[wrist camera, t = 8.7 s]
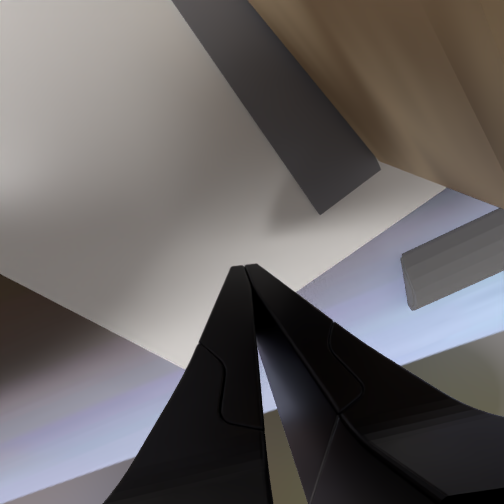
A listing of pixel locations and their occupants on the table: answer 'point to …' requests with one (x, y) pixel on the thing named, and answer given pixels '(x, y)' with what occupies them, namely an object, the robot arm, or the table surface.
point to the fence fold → (409, 80)
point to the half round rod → (454, 260)
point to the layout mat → (173, 163)
